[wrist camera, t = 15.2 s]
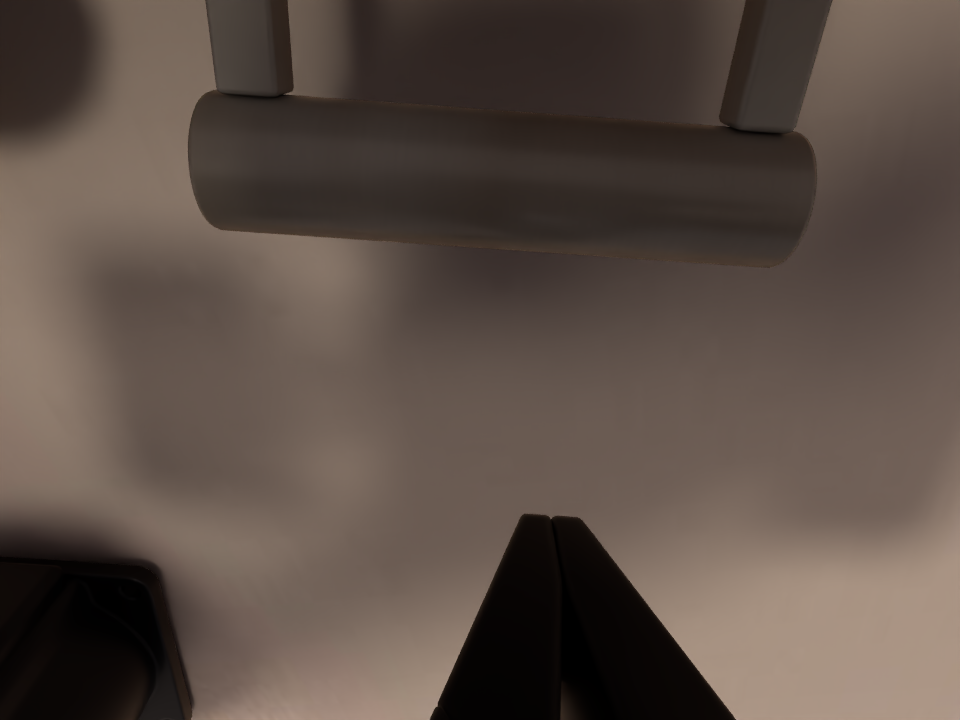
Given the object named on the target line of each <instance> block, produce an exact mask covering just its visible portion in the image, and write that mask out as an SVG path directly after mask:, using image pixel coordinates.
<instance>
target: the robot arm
mask: <svg viewBox="0 0 960 720" xmlns="http://www.w3.org/2000/svg"><path fill="white" fill-rule="evenodd" d="M191 718H192V709H191V705H190V701H189V697H188V693H187V689H186V685H185V681H184V677H183V673H182V669H181V666H180V662H179V658H178V654H177V650H176V646H175V642H174V638H173V634H172V630H171V626H170V623H169V619H168V615H167V611H166V607H165V603H164V599H163V595H162V591H161V587H160V583H159V580H158V578H157V576H156V575H155V574H154V573H153V572H152V571H151V570H149V569H147V568H145V567H142V566H137V565H123V564H107V563H91V562H74V561H58V560H42V559H26V558H9V557H0V720H191ZM430 720H736V719H735V718H734V716H733V715H732V714H731V712H730V711H729V710H728V709H727V707H726V706H725V705H724V703H723V702H722V701H721V699H720V698H719V697H718V696H717V694H716V693H715V692H714V690H713V689H712V688H711V686H710V685H709V684H708V683H707V681H706V680H705V679H704V677H703V676H702V675H701V673H700V672H699V671H698V670H697V668H696V667H695V666H694V664H693V663H692V662H691V660H690V659H689V658H688V657H687V655H686V654H685V653H684V651H683V650H682V649H681V647H680V646H679V645H678V644H677V642H676V641H675V640H674V638H673V637H672V636H671V634H670V633H669V632H668V631H667V629H666V628H665V627H664V625H663V624H662V623H661V621H660V620H659V619H658V618H657V616H656V615H655V614H654V612H653V611H652V610H651V609H650V607H649V606H648V605H647V603H646V602H645V601H644V599H643V598H642V597H641V596H640V594H639V593H638V592H637V590H636V589H635V588H634V586H633V585H632V584H631V583H630V581H629V580H628V579H627V577H626V576H625V575H624V573H623V572H622V571H621V570H620V568H619V567H618V566H617V564H616V563H615V562H614V560H613V559H612V558H611V557H610V555H609V554H608V553H607V551H606V550H605V549H604V547H603V546H602V545H601V544H600V542H599V541H598V540H597V538H596V537H595V536H594V534H593V533H592V532H591V531H590V529H589V528H588V527H587V525H586V524H585V523H584V522H583V520H581V519H580V518H578V517H568V516H554V517H552V519H550V517H549V516H548V515H539V514H523V515H522V516H521V517H520V519H519V521H518V524H517V526H516V528H515V530H514V533H513V535H512V537H511V539H510V542H509V544H508V546H507V548H506V551H505V553H504V555H503V557H502V560H501V562H500V564H499V566H498V569H497V571H496V573H495V575H494V578H493V580H492V582H491V584H490V587H489V589H488V591H487V593H486V596H485V598H484V600H483V602H482V605H481V607H480V609H479V611H478V614H477V616H476V618H475V620H474V623H473V625H472V627H471V629H470V632H469V634H468V636H467V638H466V641H465V643H464V645H463V647H462V649H461V652H460V654H459V656H458V658H457V661H456V663H455V665H454V667H453V670H452V672H451V674H450V676H449V679H448V681H447V683H446V685H445V688H444V690H443V692H442V694H441V697H440V699H439V701H438V707H436V708H435V709H434V711H433V714H432V716H431V718H430Z"/></svg>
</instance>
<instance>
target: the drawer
mask: <svg viewBox="0 0 960 720" xmlns="http://www.w3.org/2000/svg"><path fill="white" fill-rule="evenodd" d="M205 1H206V9H207V17H208V24H209V32H210V40H211V48H212V56H213V64H214V72H215V80H216V87H217V90H212V91H210V92H207V93H205V94H204V95H203V96H202V97H201V98H200V99H199V100H198V102H197V104H196V106H195V109H194V111H193V115H192V118H191V123H190V129H189V138H188V160H189V171H190V178H191V183H192V188H193V192H194V195H195V198H196V201H197V204H198V206H199V209H200V211H201V212H202V214H203V216H204V217H205V219H206V220H207V221H208V222H209V224H211V225H212V226H214V227H216V228H218V229H220V230H227V231H241V232H256V233H270V234H285V235H299V236H314V237H328V238H343V239H357V240H372V241H386V242H401V243H415V244H430V245H444V246H459V247H473V248H488V249H502V250H517V251H531V252H546V253H560V254H575V255H589V256H604V257H618V258H633V259H647V260H662V261H676V262H691V263H705V264H720V265H734V266H749V267H763V268H770V267H774V266H776V265H779V264H781V263H782V262H784V261H785V260H786V259H787V258H788V257H789V256H790V255H791V254H792V253H793V252H794V250H795V249H796V247H797V246H798V244H799V242H800V240H801V239H802V237H803V235H804V232H805V230H806V228H807V225H808V222H809V219H810V216H811V212H812V209H813V204H814V199H815V193H816V183H817V169H816V160H815V155H814V151H813V148H812V146H811V144H810V142H809V141H808V139H807V138H805V137H804V136H803V135H801V134H799V133H797V132H793V130H794V129H795V127H796V124H797V120H798V117H799V113H800V110H801V106H802V103H803V99H804V96H805V93H806V89H807V86H808V82H809V79H810V75H811V72H812V68H813V65H814V62H815V58H816V55H817V51H818V48H819V44H820V41H821V37H822V34H823V31H824V27H825V24H826V20H827V17H828V13H829V10H830V6H831V3H832V0H746V3H745V7H744V11H743V16H742V20H741V24H740V29H739V33H738V37H737V41H736V46H735V50H734V54H733V59H732V63H731V67H730V71H729V76H728V80H727V84H726V89H725V93H724V97H723V102H722V106H721V110H720V114H719V119H720V122H721V123H723V124H725V125H727V126H730V127H725V126H711V125H698V124H684V123H670V122H656V121H642V120H628V119H614V118H600V117H587V116H573V115H559V114H545V113H531V112H517V111H503V110H489V109H476V108H462V107H448V106H434V105H420V104H406V103H392V102H378V101H365V100H351V99H337V98H323V97H309V96H295V95H283V94H286V93H289V92H292V91H293V88H294V85H293V71H292V57H291V43H290V29H289V15H288V1H287V0H205Z"/></svg>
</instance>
